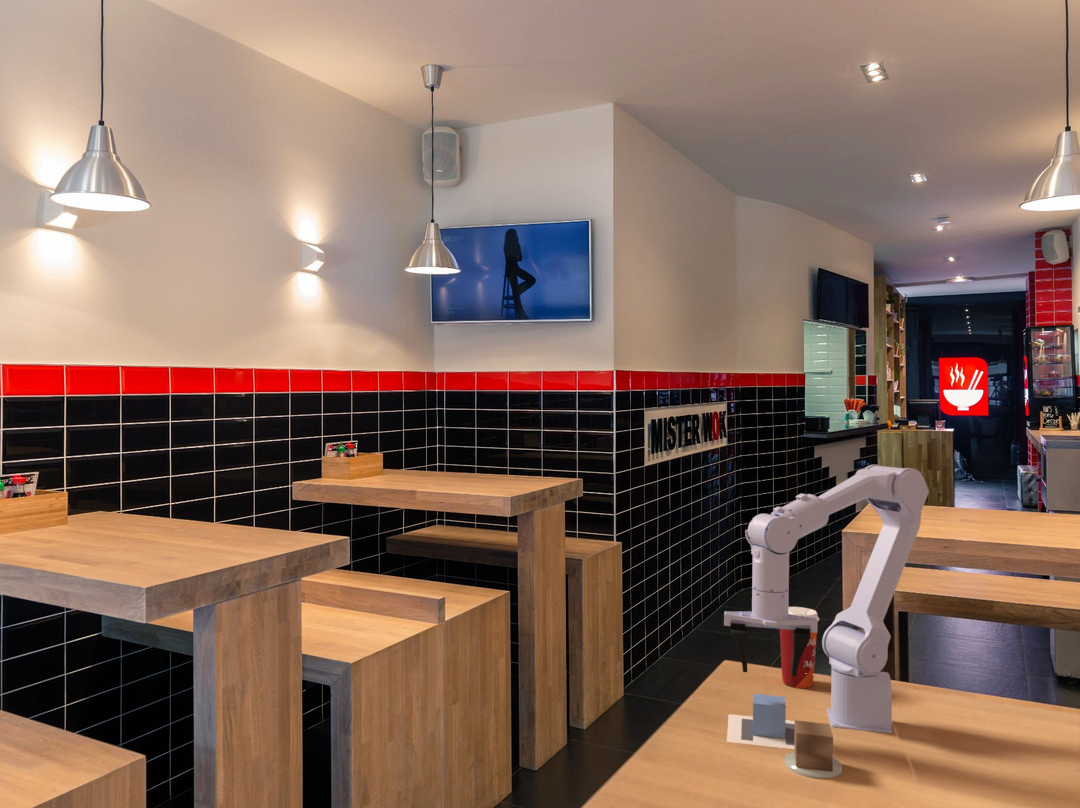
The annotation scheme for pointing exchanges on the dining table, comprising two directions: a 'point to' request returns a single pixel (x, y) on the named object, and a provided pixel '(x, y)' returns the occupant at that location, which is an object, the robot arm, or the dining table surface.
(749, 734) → the letter card
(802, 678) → the paper cup
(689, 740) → the dining table surface
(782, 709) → the blue cube
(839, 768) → the saucer
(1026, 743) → the dining table surface
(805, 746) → the walnut block
